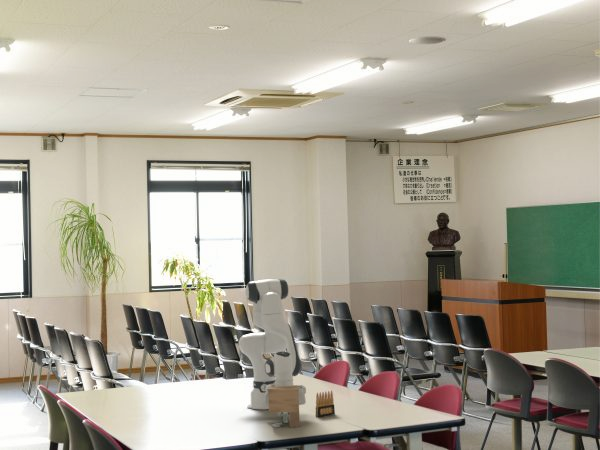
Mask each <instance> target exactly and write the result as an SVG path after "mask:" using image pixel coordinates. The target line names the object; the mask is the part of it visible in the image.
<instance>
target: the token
mask: <svg viewBox="0 0 600 450" xmlns="http://www.w3.org/2000/svg"><path fill="white" fill-rule="evenodd" d="M282 427H283V423H281V422H280V423H278V422H276V423H271V428H282Z"/></svg>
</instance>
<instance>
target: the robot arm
mask: <svg viewBox="0 0 600 450" xmlns="http://www.w3.org/2000/svg"><path fill="white" fill-rule="evenodd" d="M245 286H246V287H245V291H244V292H245V296H246V298H247V299H246V300H248V301H250V302H252V321H253V324H254V325H255V326H256V327H258V328H260V329H262V330H263V331H264V332H253V333H252V332H251V333H247V334H243V335H242V336H241V337H239V340H238V348H239V350H240V352H241V353H242V354H243V355H245V356H246V357H247V358H248V360H249V361H250V362H251V365H252V369H253V383H252V387H253V389H252V390H251V391H250V404H248V405H247V409H252V410H253V409H254V410H269V398H268V387H270V386H297V385H298V384H297V385H294V377H297V376H298V375H299V374H300V373H301V372H302V368H303V367H302V362H301V359H300V355H299V353H298V349H297V348H298V347H297V345H296V341H295V336H294V332H293V329H292V326H291V324H289V323H288V322H287V321H286V318H285V315H284V307H283V303H282V300H285V299H286V298H287V297H288V295H289V289H290V287H289V285H288V282H287V281H286V280H285V279H281V278H278V279H276V278H275V279H274V278H270V279H269V278H267V279H260V280H252V281H249V282H248V283H247V284H246V285H245ZM285 350H286V351H285ZM264 354H267V355H268V354H274V356H273V357H270V358H267V359H265V358H264V356H263V355H264ZM306 393H307V388H306V387H305V385H303V384H299V406H300V405H301V406H303V405H305V404H306V403H307V401H306V395H305V394H306ZM279 413H280V414H279V415H280V416H283V412H279ZM287 415H289V416H290V412H287Z"/></svg>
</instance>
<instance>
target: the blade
mask: <svg viewBox="0 0 600 450" xmlns="http://www.w3.org/2000/svg"><path fill="white" fill-rule="evenodd" d="M282 417H283V418H282V422H283V423H284V424H285V423H286V424H287V423H288V422H289V421H288V418H289V416H288V415H287V412H283V415H282ZM283 423H282V424H283Z"/></svg>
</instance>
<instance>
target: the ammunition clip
mask: <svg viewBox="0 0 600 450" xmlns="http://www.w3.org/2000/svg"><path fill="white" fill-rule="evenodd" d="M335 413H336V411H335V404H334V392H333V390H328V392H327V391H325V392H324V391H322V392H321V391H320V392H317V393H316V401H315V418H318V419H320V418H324V416H325V417H330V416H336V414H335Z"/></svg>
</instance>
